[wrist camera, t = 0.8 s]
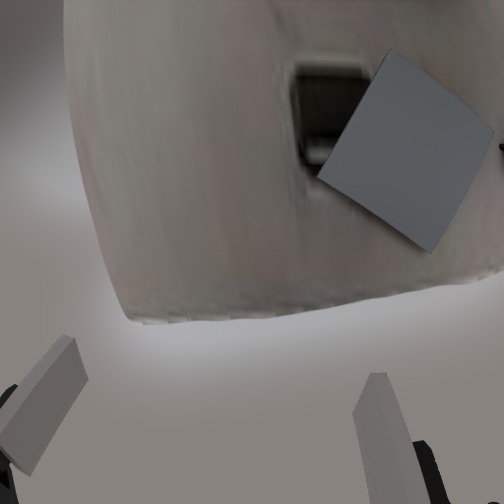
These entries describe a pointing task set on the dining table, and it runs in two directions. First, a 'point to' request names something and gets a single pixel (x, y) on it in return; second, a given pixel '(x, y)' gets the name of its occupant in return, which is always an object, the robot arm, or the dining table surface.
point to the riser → (408, 151)
